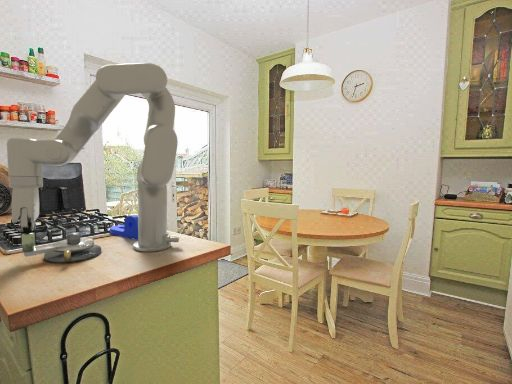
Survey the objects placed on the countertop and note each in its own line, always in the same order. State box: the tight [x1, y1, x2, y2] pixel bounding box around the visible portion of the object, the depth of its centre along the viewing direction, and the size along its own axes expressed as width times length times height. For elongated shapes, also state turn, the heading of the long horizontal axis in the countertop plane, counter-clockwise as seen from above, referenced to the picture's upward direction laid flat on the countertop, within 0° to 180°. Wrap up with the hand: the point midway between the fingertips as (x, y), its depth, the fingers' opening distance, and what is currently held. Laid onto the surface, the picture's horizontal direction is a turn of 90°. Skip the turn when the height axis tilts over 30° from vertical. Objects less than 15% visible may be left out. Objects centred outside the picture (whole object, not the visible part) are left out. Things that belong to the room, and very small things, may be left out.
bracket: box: [109, 214, 138, 241], centre depth 110 cm, size 18×8×9 cm, turn 65°
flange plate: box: [21, 231, 95, 258], centre depth 82 cm, size 18×11×6 cm, turn 140°
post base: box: [43, 244, 102, 264], centre depth 85 cm, size 15×16×4 cm
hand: (29, 243), depth 80 cm, fingers closed
